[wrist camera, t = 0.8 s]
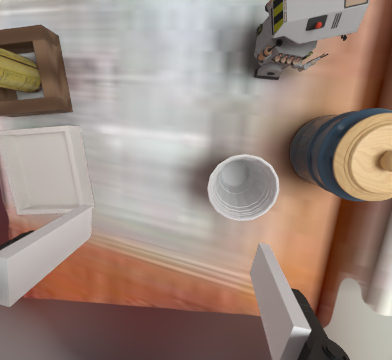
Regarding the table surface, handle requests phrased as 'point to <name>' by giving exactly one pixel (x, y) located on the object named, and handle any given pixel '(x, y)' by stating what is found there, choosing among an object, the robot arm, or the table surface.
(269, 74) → the figurine
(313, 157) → the canister
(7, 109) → the walnut holder
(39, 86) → the sauce bottle
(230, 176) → the plastic cup
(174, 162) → the table surface
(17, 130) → the plastic tray
